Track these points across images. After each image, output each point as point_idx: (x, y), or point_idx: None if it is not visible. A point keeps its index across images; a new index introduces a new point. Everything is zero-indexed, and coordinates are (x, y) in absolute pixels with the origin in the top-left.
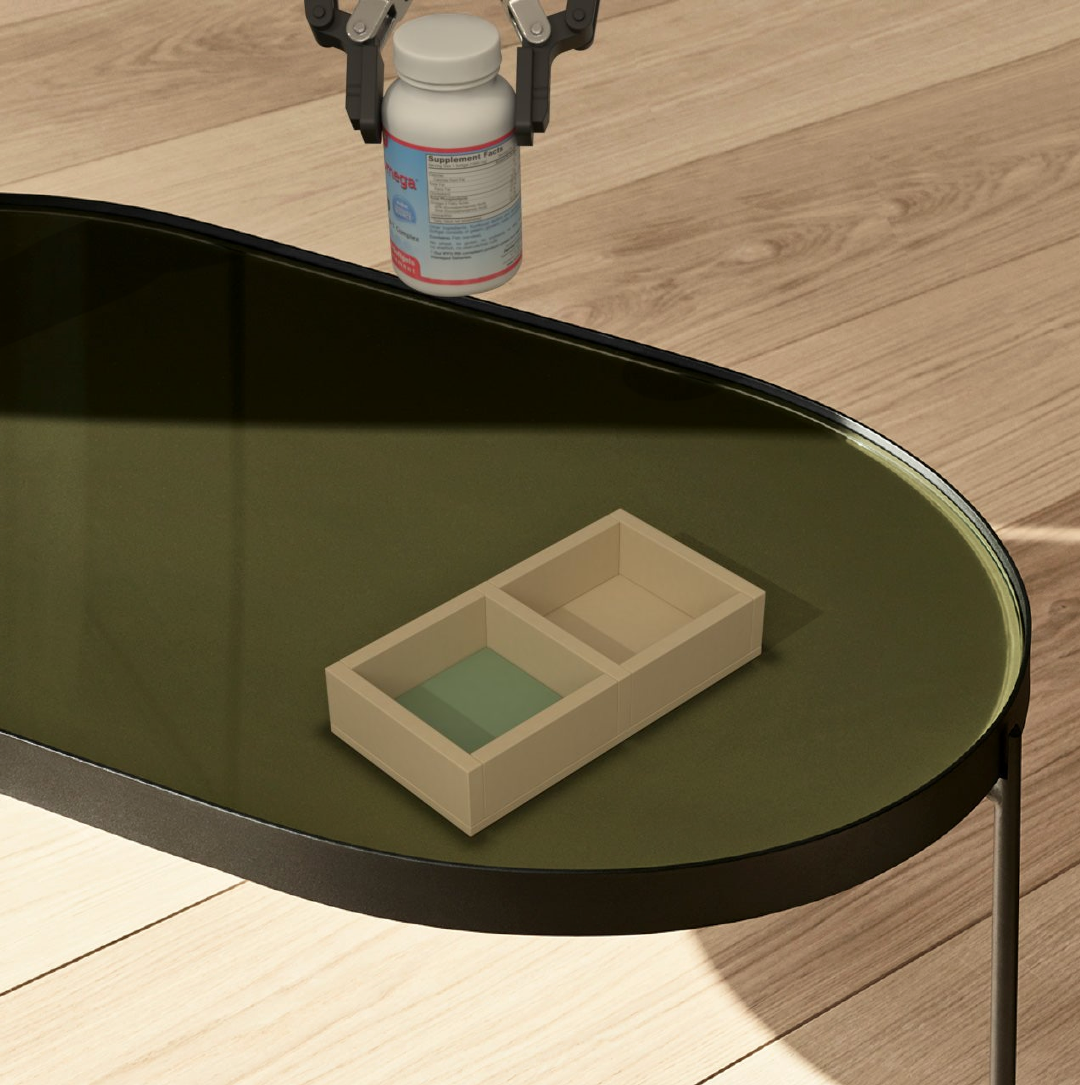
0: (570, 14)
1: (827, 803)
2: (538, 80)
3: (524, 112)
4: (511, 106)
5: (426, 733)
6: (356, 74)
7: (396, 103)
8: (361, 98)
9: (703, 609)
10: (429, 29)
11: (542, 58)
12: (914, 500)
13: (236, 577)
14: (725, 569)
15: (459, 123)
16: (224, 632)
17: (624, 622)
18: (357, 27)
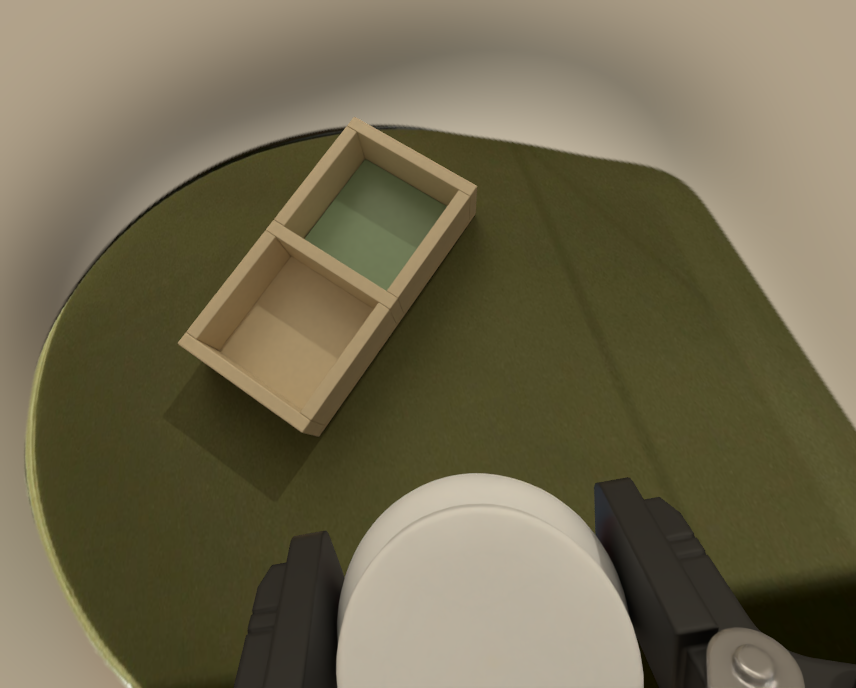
0: None
1: (161, 224)
2: (266, 644)
3: (301, 557)
4: (340, 606)
5: (388, 141)
6: (695, 577)
7: (573, 532)
8: (650, 517)
9: (239, 366)
10: None
11: None
12: (86, 594)
13: (610, 361)
14: (209, 364)
15: (424, 491)
16: (589, 295)
17: (301, 358)
18: (758, 655)
